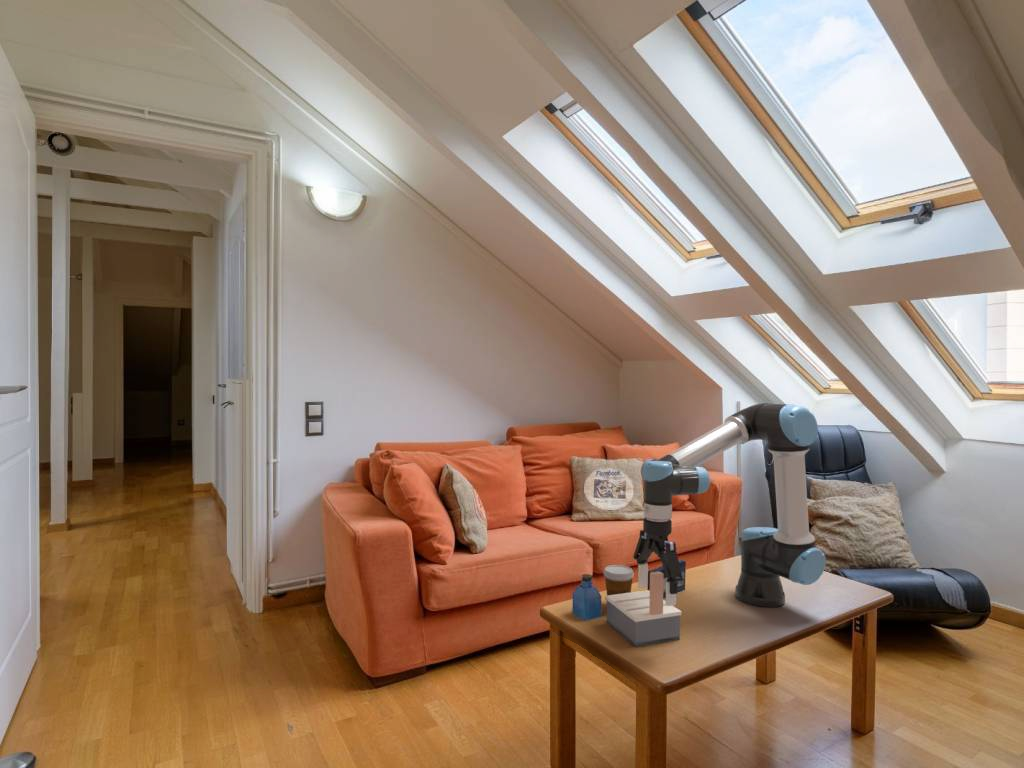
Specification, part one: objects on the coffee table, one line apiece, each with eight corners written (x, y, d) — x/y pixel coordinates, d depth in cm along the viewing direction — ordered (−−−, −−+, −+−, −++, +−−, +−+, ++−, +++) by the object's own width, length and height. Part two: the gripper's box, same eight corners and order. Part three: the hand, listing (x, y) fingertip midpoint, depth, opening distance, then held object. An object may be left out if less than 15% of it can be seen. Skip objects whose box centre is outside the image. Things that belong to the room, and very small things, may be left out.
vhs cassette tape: (653, 603, 187) (653, 572, 187) (645, 600, 189) (646, 570, 189) (686, 590, 198) (687, 561, 198) (679, 588, 201) (679, 559, 201)
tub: (647, 616, 177) (648, 593, 176) (679, 639, 161) (679, 614, 161) (606, 622, 172) (606, 599, 172) (635, 647, 157) (635, 621, 157)
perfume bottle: (572, 613, 179) (572, 574, 178) (588, 609, 182) (588, 571, 182) (584, 620, 173) (585, 580, 173) (601, 616, 176) (601, 577, 176)
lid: (648, 596, 177) (648, 553, 177) (681, 618, 161) (682, 571, 161) (605, 602, 172) (606, 558, 172) (635, 625, 156) (635, 577, 156)
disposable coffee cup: (596, 607, 183) (597, 569, 183) (614, 599, 190) (615, 562, 190) (622, 616, 177) (622, 577, 176) (639, 607, 183) (640, 569, 183)
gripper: (622, 509, 170) (621, 581, 170) (672, 531, 146) (671, 615, 147) (644, 507, 172) (643, 578, 173) (697, 529, 149) (696, 611, 149)
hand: (656, 595), depth 160 cm, fingers open, 13 cm apart
